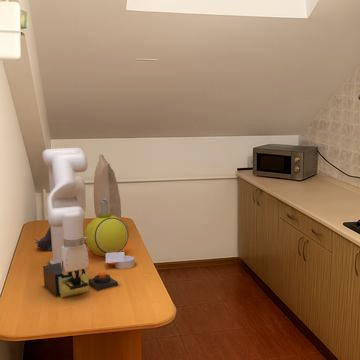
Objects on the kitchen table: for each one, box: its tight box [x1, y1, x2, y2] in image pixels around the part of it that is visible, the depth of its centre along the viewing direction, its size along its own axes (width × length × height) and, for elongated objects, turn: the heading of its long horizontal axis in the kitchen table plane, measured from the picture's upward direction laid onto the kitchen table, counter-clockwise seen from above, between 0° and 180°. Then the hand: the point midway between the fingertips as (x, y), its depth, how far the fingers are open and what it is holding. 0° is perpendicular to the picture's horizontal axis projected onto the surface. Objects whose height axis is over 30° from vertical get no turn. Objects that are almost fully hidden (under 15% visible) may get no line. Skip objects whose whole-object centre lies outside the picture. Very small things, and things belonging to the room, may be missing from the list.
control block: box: [88, 273, 119, 291], centre depth 236 cm, size 11×9×4 cm
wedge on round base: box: [105, 251, 135, 270], centre depth 260 cm, size 9×7×13 cm
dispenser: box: [42, 263, 86, 297], centre depth 231 cm, size 15×13×9 cm
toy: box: [84, 197, 130, 258], centre depth 275 cm, size 23×22×30 cm
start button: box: [97, 271, 107, 278], centre depth 235 cm, size 4×4×2 cm
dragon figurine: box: [34, 226, 86, 251], centre depth 290 cm, size 10×12×25 cm
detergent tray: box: [57, 272, 90, 298], centre depth 226 cm, size 18×11×7 cm, turn 38°
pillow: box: [93, 154, 122, 221], centre depth 317 cm, size 44×14×43 cm, turn 19°
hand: (76, 286), depth 221 cm, fingers closed
